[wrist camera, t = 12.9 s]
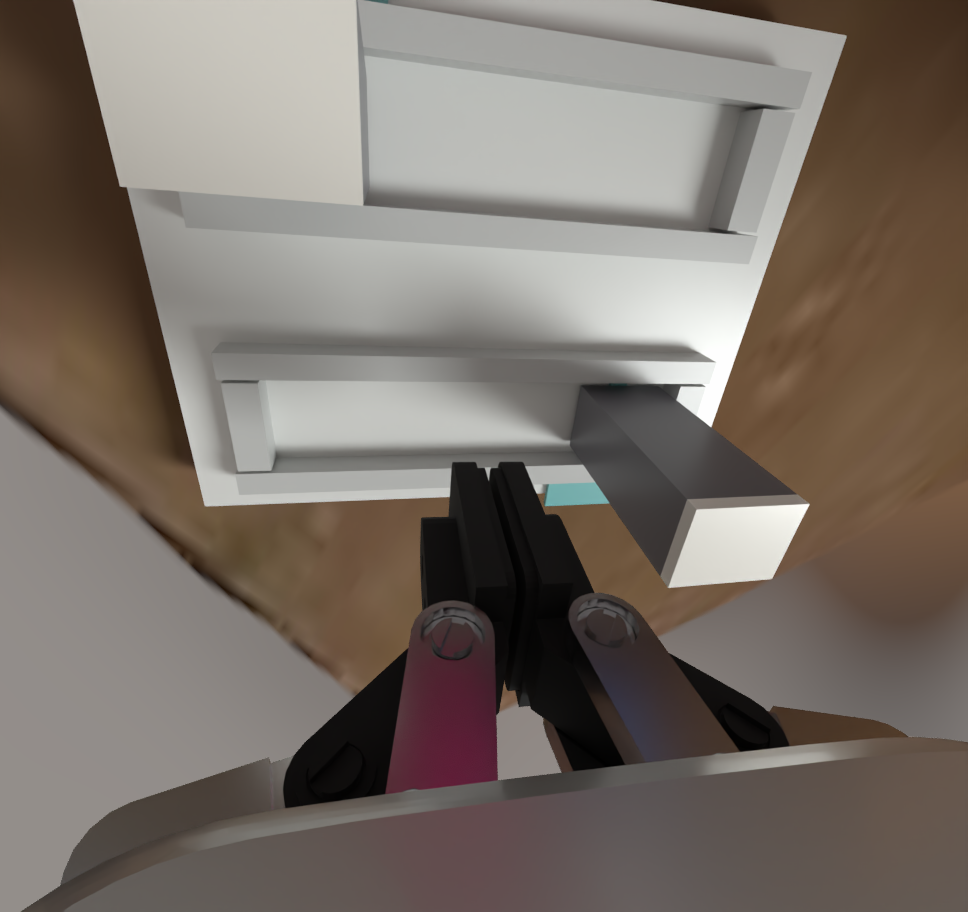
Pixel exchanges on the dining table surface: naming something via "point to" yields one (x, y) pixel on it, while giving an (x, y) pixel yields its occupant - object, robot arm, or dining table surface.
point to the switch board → (489, 248)
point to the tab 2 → (683, 487)
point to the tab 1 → (233, 95)
